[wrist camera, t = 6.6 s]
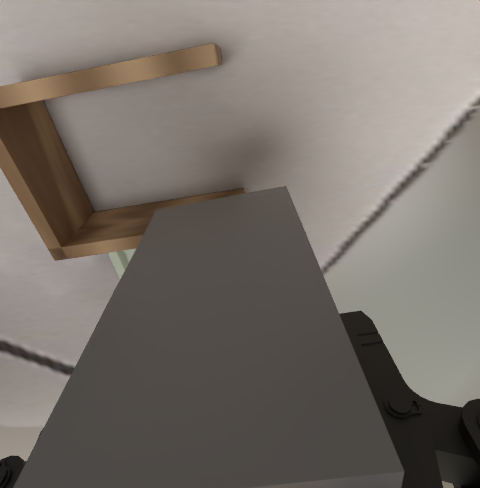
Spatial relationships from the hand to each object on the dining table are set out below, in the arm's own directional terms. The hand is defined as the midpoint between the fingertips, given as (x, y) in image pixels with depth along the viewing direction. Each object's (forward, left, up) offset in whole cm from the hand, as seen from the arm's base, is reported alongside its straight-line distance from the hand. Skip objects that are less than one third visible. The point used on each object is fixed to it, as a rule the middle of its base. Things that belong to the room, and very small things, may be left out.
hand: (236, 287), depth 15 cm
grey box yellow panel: (0, 0, -1) cm, 1 cm away
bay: (-8, +4, -18) cm, 20 cm away
